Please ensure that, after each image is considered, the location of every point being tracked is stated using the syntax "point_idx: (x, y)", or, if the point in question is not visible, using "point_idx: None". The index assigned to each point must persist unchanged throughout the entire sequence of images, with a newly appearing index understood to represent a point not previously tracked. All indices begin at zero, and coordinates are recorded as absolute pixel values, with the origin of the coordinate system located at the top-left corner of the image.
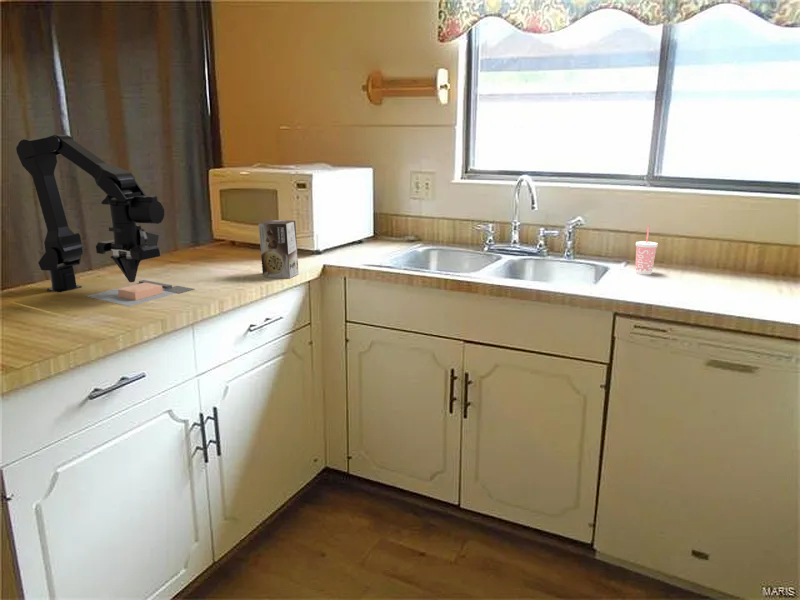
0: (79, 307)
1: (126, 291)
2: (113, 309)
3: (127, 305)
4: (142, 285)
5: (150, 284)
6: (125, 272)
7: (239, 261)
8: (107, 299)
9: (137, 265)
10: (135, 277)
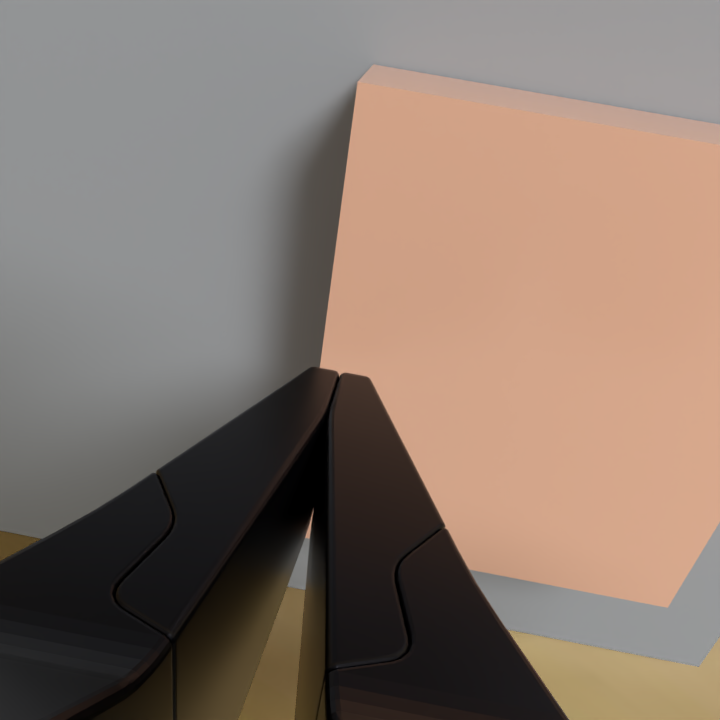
0: (252, 701)
1: (483, 564)
2: (575, 698)
3: (668, 657)
4: (494, 293)
5: (597, 182)
6: (271, 626)
7: None
8: (297, 562)
9: (501, 665)
10: (386, 415)
